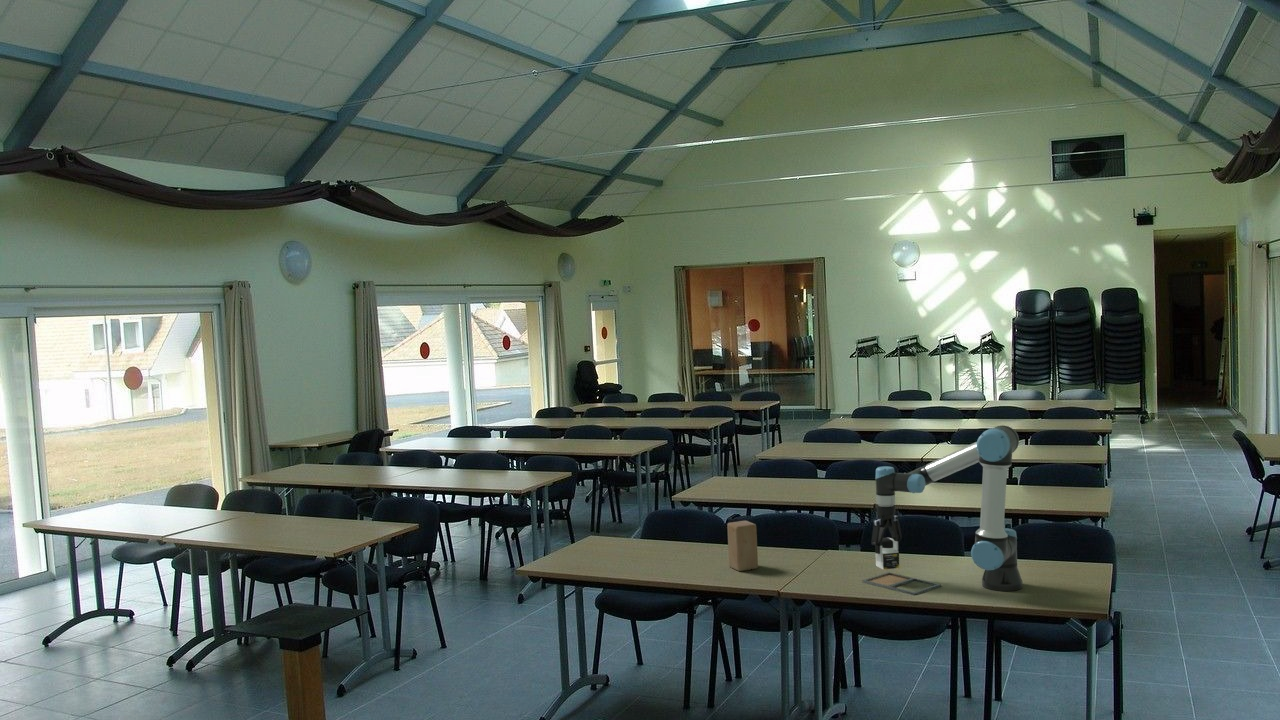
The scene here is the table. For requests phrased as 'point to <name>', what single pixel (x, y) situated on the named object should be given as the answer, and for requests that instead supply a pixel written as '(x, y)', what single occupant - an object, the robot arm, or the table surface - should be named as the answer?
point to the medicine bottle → (888, 555)
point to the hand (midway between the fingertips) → (887, 558)
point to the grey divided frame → (898, 582)
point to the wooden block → (742, 545)
